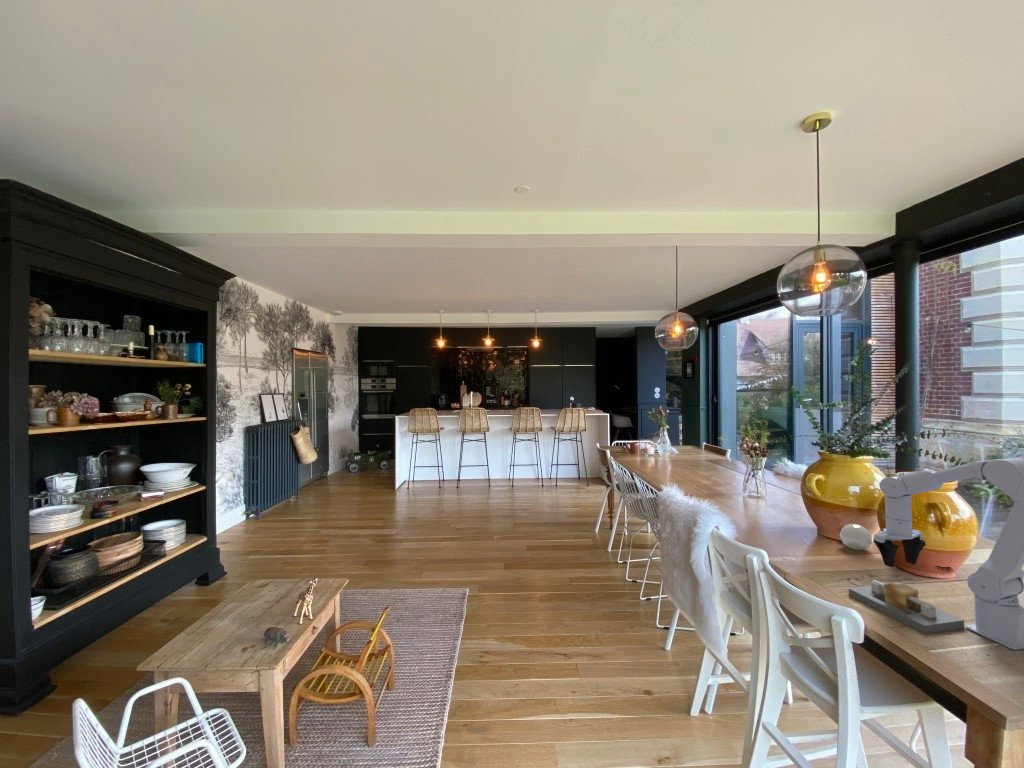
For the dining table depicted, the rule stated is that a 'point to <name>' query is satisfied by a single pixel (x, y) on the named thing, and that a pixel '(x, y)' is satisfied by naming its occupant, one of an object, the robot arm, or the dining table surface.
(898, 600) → the ochre u-shaped block
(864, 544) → the white egg shape
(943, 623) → the grey slotted base plate
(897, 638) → the dining table surface
